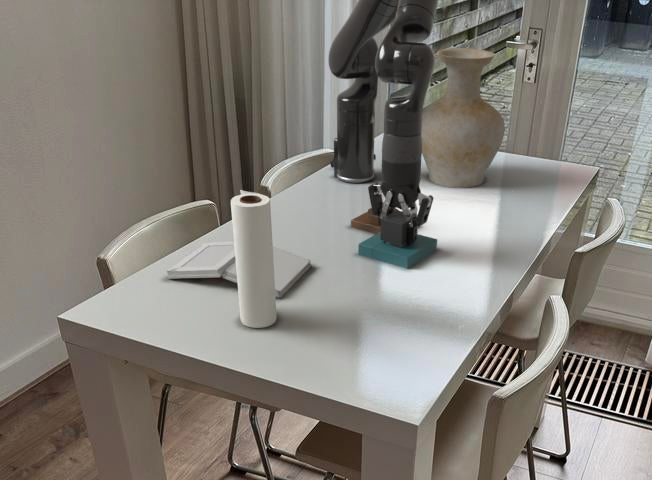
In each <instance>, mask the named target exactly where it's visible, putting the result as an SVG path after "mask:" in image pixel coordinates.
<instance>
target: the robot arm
mask: <svg viewBox="0 0 652 480" xmlns="http://www.w3.org/2000/svg"><path fill="white" fill-rule="evenodd" d="M438 4H439V0H357V1H356V4H355V6H354V7H353V9H352V11H351V12H350V15H349V16H348V18H347V20H345V22H344V24H343V25H342V27H341V29H339V31H338V33H337V34H336V36H335V37H334V39H333V40H332V42H331V45H330V47H329V51H328V67H329V70H330V73H331V74H332V75H333V76H334V77H335V78H338V79H340V80H354V81H353V83H352V84H351V85H350V86H349V87H348V88H346V89H344V90H343V91H341V92H339V94H338V95H337V96H336V137H335V138H334V139H333V157H332V160H331V161H330V163H329V164H330V168H332V169H333V177H334V178H336V179H338V180H339V181H342V182H345V183H352V184H360V183H367V182H371V181H372V180H373V179H375V173H374V172H375V169H374V168H375V161H376V159H377V155H376V153H375V130H376V129H375V126H376V124H375V123H376V121H375V119H376V101H377V97H378V90H379V89H378V88H379V80H380V81H381V82H384V83H385V84H393V85H407V86H412V87H411V91H410V93H408V94H405V95H399V96H397V95H396V96H393V97H390V98H388V99H387V100H386V101H385V103H384V113H383V136H382V142H381V143H382V144H381V182H380V183H379V182H375V183H372V184H370V185H368V187H367V191H368V196H369V200H370V206H371V207H370V208H372V213H373V215H375V216H376V215H377V216H379V217H380V219H381V218H383V217H385V216H387V215H389V214H391V213H392V212H393V210H394V208H396V209H398V210H400V211H402V212H403V215H404V216H405V217H406V221H407V224H408V227H407V243H406V244H409V245H411V244H412V243H414V241H416V239H417V234H418V229H419V228H418V227H421V226H423V225H424V224H426V223H427V222H428V219H429V216H430V212H431V210H432V207H433V202H434V196H433V195H431V194H430V195H426V194H424V193H422V191H421V188H420V182H421V175H422V158H423V155H422V137H421V131H422V112H423V110H424V105H425V99H426V96H427V93H428V88H429V86H430V83H431V80H432V77H433V74H434V70H435V67H436V55H435V52H434V50H433V48H432V47H431V46H430V45H429V44H428V43H424V42H423V41H426V40H427V39H428V38H429V37H430V36H431V34H432V32H433V27H434V24H435V19H436V14H437V9H438ZM388 27H389V29H388V31H387V32H386V34H385V36H384V37H383V39H382V40H381V43H380V45H378V42H377V41H376V39H375V38H374V37H376V36H377V35H379V33H381V32H382V31H384V30H385V29H386V28H388ZM382 195H383V196H382ZM383 197H384V201H383ZM417 201H418V206H419V209H418V206H417ZM383 202H384V204H383Z"/></svg>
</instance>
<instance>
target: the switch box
mask: <svg viewBox="0 0 652 480" xmlns="http://www.w3.org/2000/svg"><path fill="white" fill-rule="evenodd" d="M396 210H398V211H400V209H399V208H394V210H393V212H394V211H396ZM350 228H352V229H356V230H360V231H363V232H367V233H371V234H373V235H376V234H377V233H379V232H381V219H380V217H379V216H377V215H376V216H375V215H373V213H372V207H370V208H368V210H367V211H366V212H364V213H362V214H360V215H358V216H356V217H354V218H353V219H350Z"/></svg>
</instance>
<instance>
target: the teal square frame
mask: <svg viewBox="0 0 652 480" xmlns="http://www.w3.org/2000/svg"><path fill="white" fill-rule="evenodd" d="M380 233H381V232H379V233H377V234H373V235H372V236H370V237H369V238H367V239H365V240H362V241H361V242H359V243H358V245H357V246H358V247H357V248H358V249H357V250H358V256H361V257H364V258H367V259H371V260H375V261H378V262H382V263H385V264H388V265H392V266H394V267H395V266H396V267H399V268H402V269H405V270H408V269H410V268H411V267H413V266H414V265H416V264H417V263H419V262H421V261H422V260H424V259H425V258H426V257H428V256H430V255H431V254H433V253H434V252H436V251H437V249H438V238H434V237H430V236H426V235H423V234H420V233H417V239H416V241H414V243H412V244H411V245H409V244H408V245H406V246H404V247H403V248H400V247H397V246H393V245H389V244H386V241H382V240H380Z"/></svg>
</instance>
